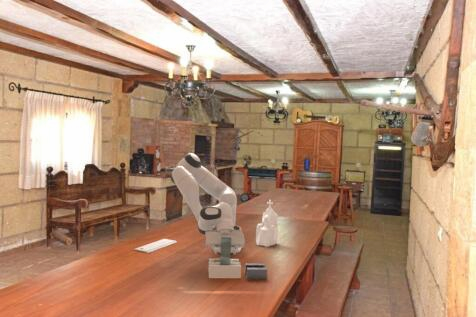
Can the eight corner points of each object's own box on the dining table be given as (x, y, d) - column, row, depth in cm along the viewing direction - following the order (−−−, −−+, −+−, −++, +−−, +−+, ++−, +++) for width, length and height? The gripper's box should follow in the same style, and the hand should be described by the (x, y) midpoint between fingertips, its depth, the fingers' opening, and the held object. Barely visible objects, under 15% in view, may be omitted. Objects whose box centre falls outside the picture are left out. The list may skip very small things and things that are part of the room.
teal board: (219, 275, 210) (221, 236, 209) (229, 275, 210) (231, 236, 209) (219, 276, 208) (221, 237, 207) (229, 276, 208) (231, 237, 207)
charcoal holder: (244, 274, 215) (245, 263, 215) (263, 274, 216) (263, 263, 216) (247, 281, 205) (247, 269, 204) (266, 281, 206) (267, 269, 206)
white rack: (208, 271, 218) (208, 258, 217) (238, 271, 219) (238, 258, 219) (209, 279, 205) (209, 266, 204) (240, 280, 206) (241, 266, 206)
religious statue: (252, 245, 276) (254, 201, 274) (260, 240, 288) (261, 198, 286) (276, 249, 269) (278, 203, 267) (283, 244, 281) (285, 200, 279)
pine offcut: (213, 271, 215) (214, 258, 215) (223, 271, 216) (223, 258, 215) (213, 273, 212) (214, 259, 212) (223, 273, 213) (224, 259, 212)
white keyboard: (179, 243, 274) (164, 240, 279) (179, 239, 274) (164, 236, 279) (150, 254, 246) (134, 251, 251) (150, 249, 246) (134, 246, 251)
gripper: (205, 226, 214) (205, 250, 204) (244, 227, 216) (245, 251, 206) (204, 233, 218) (204, 256, 209) (243, 233, 220) (244, 257, 211)
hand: (225, 253), depth 208 cm, fingers open, 8 cm apart
